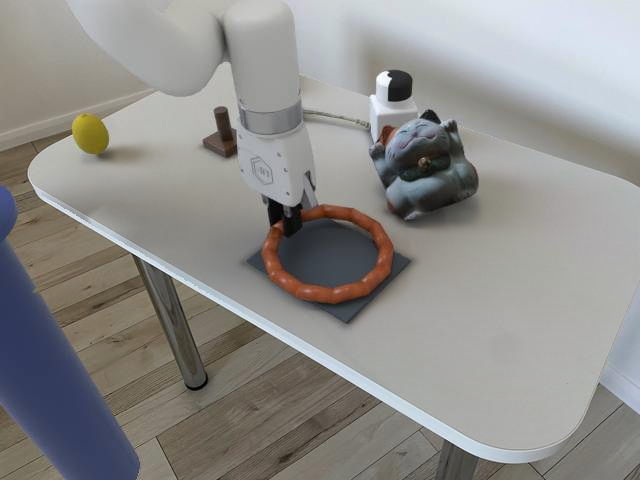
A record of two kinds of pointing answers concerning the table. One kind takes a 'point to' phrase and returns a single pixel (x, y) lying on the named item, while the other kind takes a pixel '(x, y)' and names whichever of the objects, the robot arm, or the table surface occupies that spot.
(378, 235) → the ring
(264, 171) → the robot arm
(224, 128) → the post stand
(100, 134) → the lemon
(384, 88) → the medicine bottle
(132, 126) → the table surface
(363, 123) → the soupspoon
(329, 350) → the table surface
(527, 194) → the table surface
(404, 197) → the lucky cat figurine
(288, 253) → the mat
